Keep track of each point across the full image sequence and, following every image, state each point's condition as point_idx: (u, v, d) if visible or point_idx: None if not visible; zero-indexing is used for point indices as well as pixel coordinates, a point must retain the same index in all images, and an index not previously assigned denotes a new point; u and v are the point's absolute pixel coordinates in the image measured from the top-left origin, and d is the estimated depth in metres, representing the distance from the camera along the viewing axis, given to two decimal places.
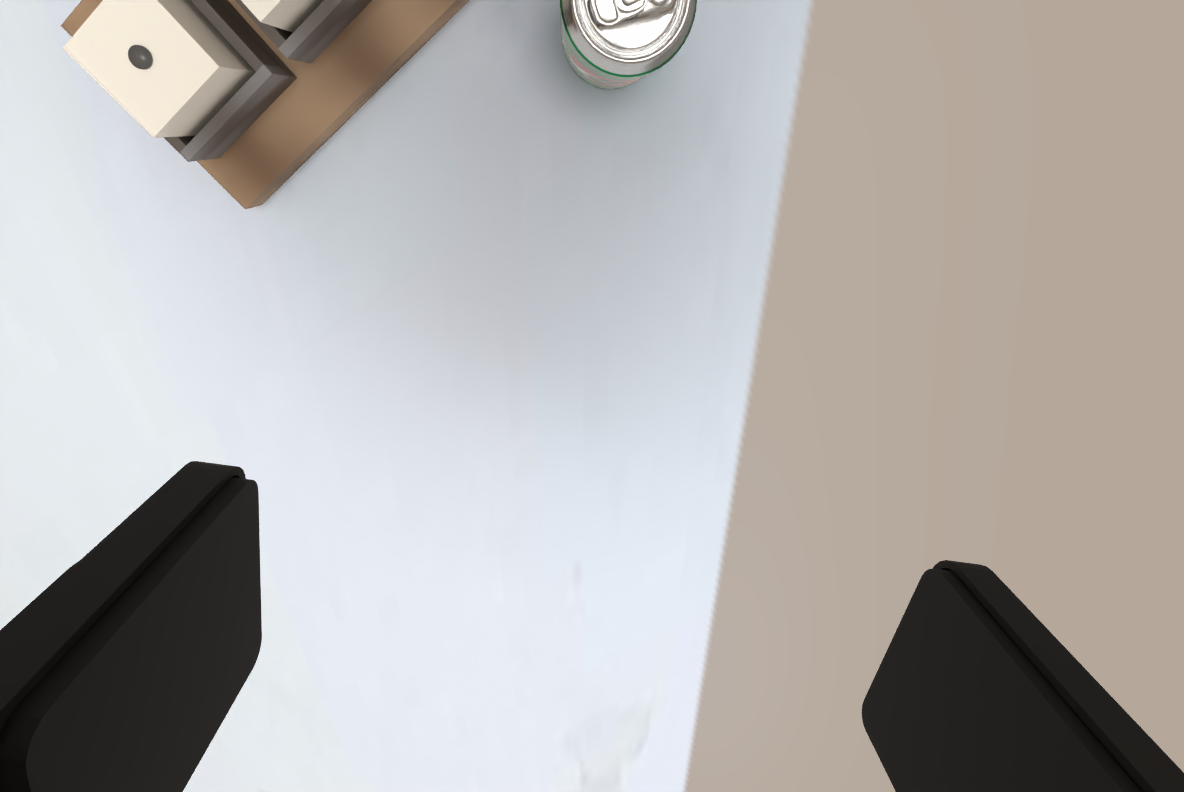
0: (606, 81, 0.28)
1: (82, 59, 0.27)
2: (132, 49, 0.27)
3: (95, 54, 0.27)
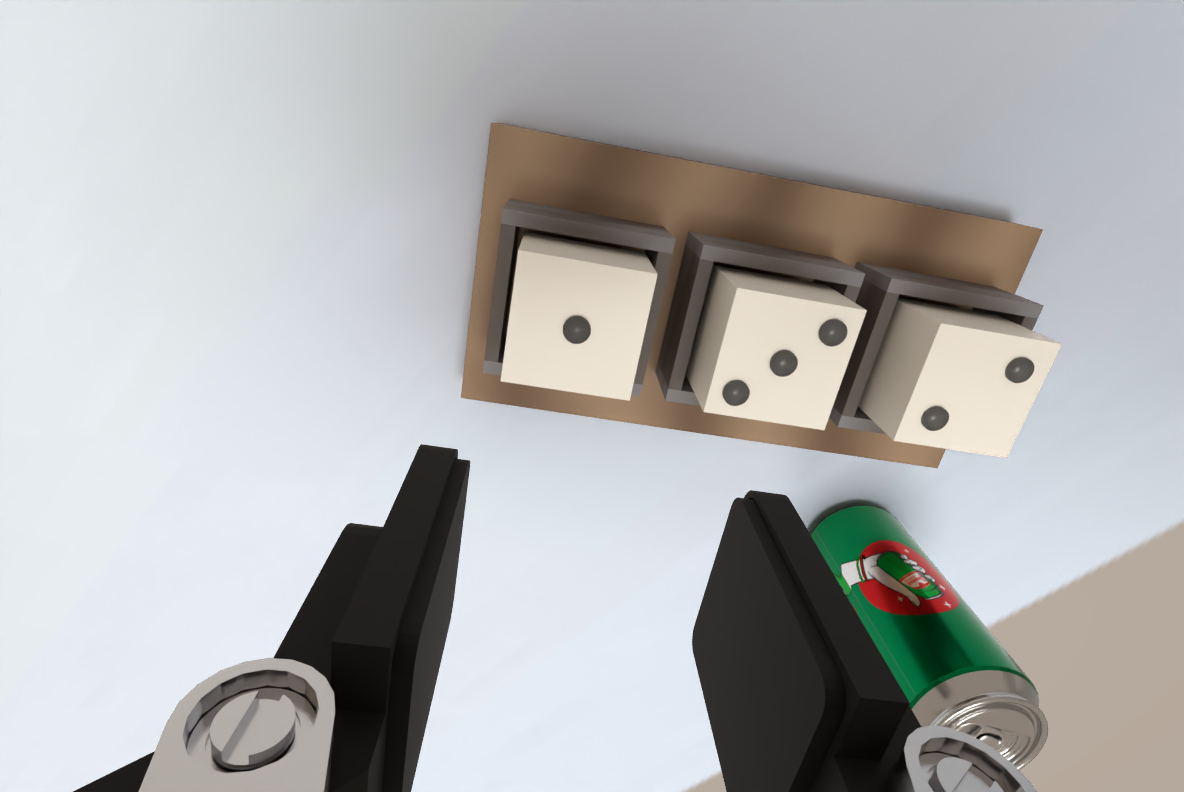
0: None
1: (523, 275, 0.20)
2: (576, 315, 0.21)
3: (540, 285, 0.20)
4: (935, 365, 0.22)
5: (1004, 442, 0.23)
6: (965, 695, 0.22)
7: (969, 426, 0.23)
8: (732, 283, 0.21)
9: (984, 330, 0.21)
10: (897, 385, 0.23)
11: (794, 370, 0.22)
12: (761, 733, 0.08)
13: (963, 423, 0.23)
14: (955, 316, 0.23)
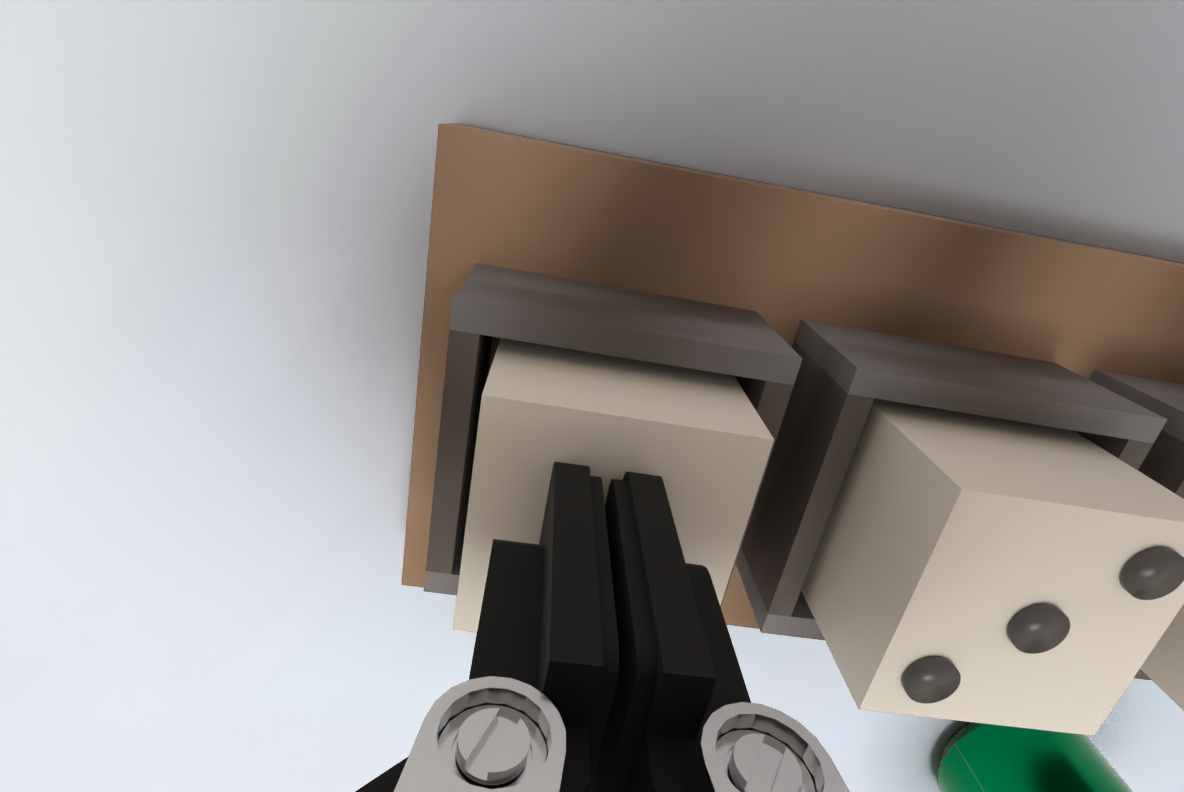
0: None
1: (494, 443, 0.10)
2: None
3: (529, 461, 0.10)
4: None
5: None
6: None
7: None
8: (938, 467, 0.10)
9: None
10: None
11: (1057, 639, 0.10)
12: None
13: None
14: None
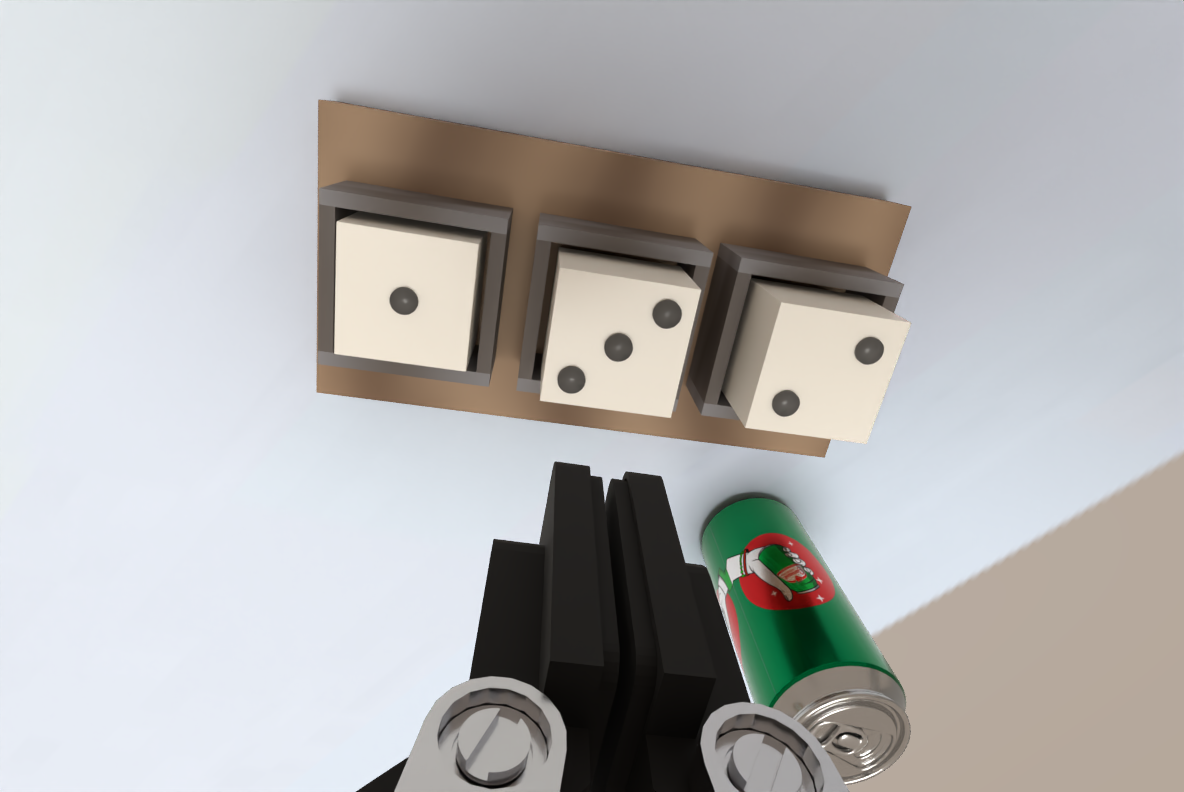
0: None
1: (344, 246, 0.20)
2: (403, 287, 0.21)
3: (362, 256, 0.20)
4: (780, 347, 0.21)
5: (862, 427, 0.22)
6: (822, 692, 0.21)
7: (823, 411, 0.22)
8: (560, 263, 0.20)
9: (828, 309, 0.20)
10: (750, 369, 0.22)
11: (630, 354, 0.20)
12: None
13: (816, 408, 0.22)
14: (807, 296, 0.22)
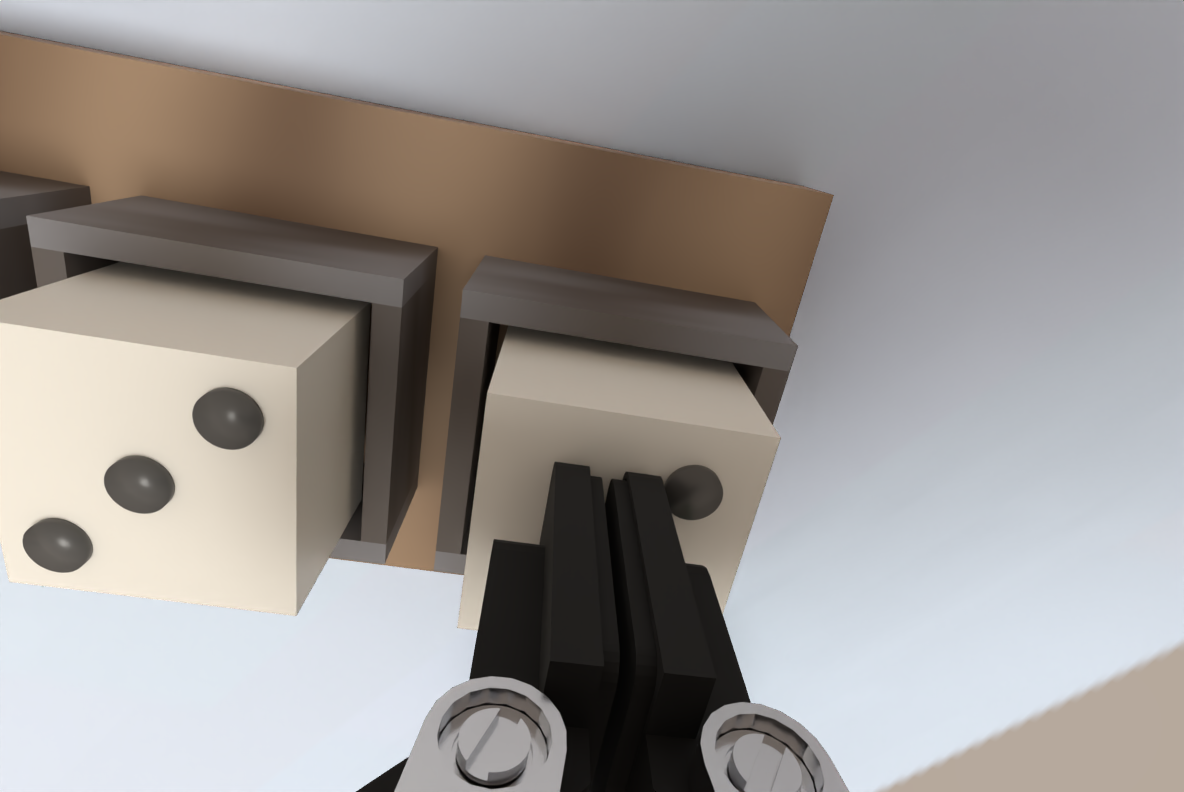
0: None
1: None
2: None
3: None
4: (502, 481, 0.10)
5: None
6: None
7: None
8: None
9: (598, 407, 0.09)
10: None
11: (170, 498, 0.10)
12: None
13: None
14: (590, 367, 0.11)
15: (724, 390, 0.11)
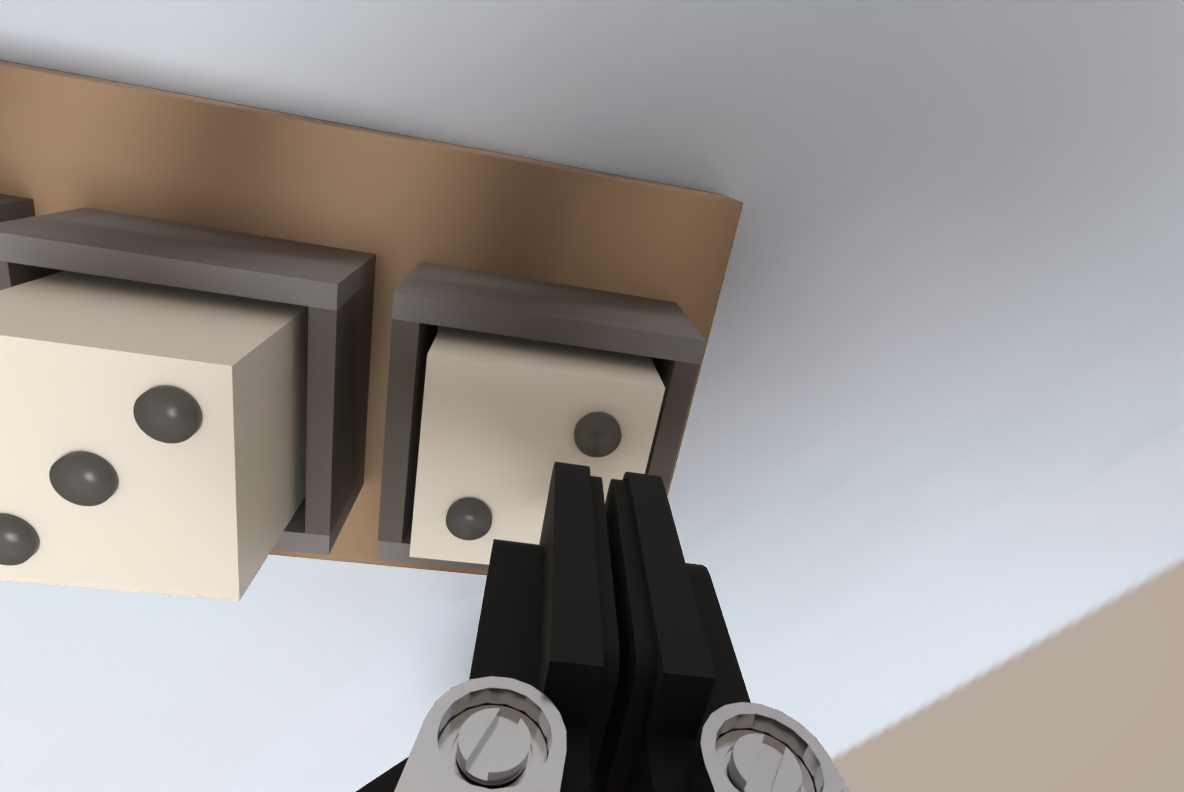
0: None
1: None
2: None
3: None
4: (442, 429, 0.12)
5: None
6: None
7: (537, 530, 0.13)
8: None
9: (518, 365, 0.12)
10: None
11: (114, 491, 0.10)
12: None
13: (526, 525, 0.13)
14: (516, 338, 0.13)
15: (627, 355, 0.13)
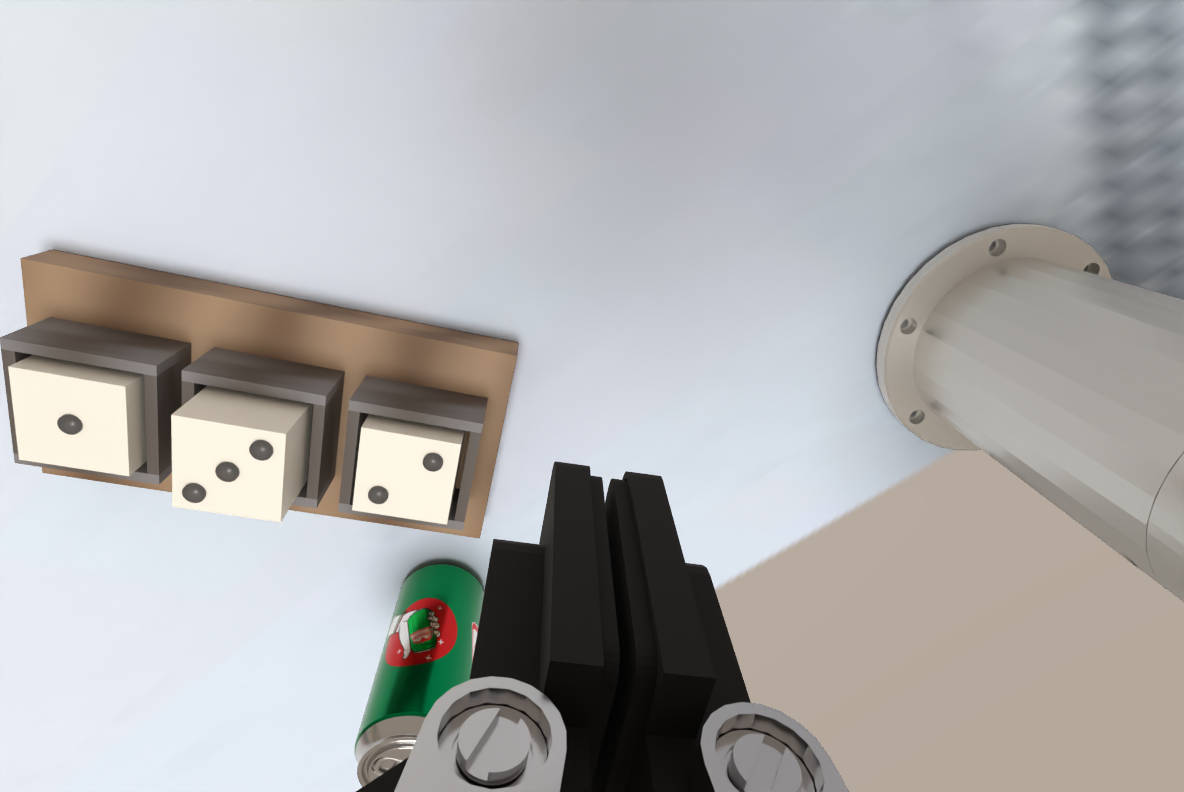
0: None
1: (17, 384, 0.26)
2: (69, 414, 0.27)
3: (32, 391, 0.27)
4: (367, 456, 0.29)
5: (441, 513, 0.30)
6: (383, 735, 0.28)
7: (408, 501, 0.30)
8: (180, 408, 0.26)
9: (399, 432, 0.29)
10: None
11: (237, 477, 0.27)
12: None
13: (403, 498, 0.30)
14: None
15: None
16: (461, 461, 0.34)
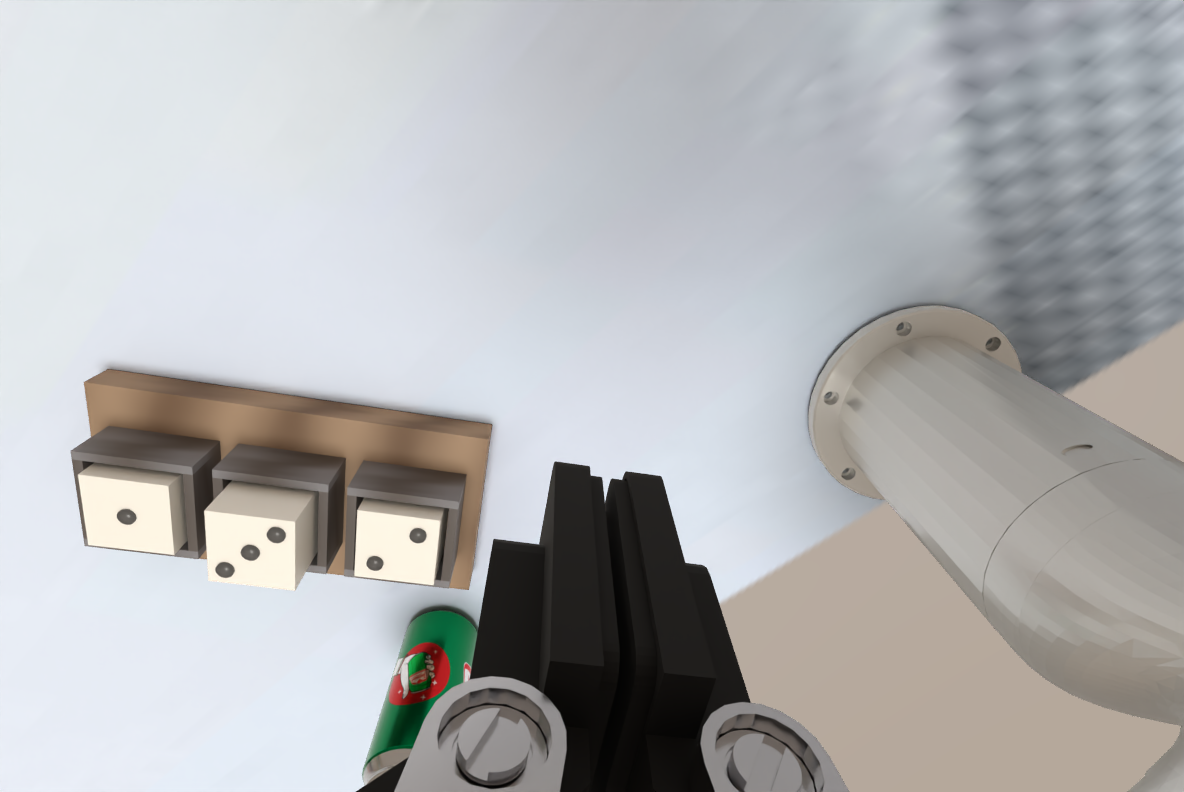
0: None
1: (85, 487, 0.33)
2: (125, 508, 0.34)
3: (97, 492, 0.33)
4: (364, 533, 0.35)
5: (428, 576, 0.36)
6: (383, 765, 0.34)
7: (400, 567, 0.36)
8: (211, 503, 0.33)
9: (389, 513, 0.35)
10: None
11: (258, 556, 0.33)
12: None
13: (396, 565, 0.36)
14: None
15: None
16: None
